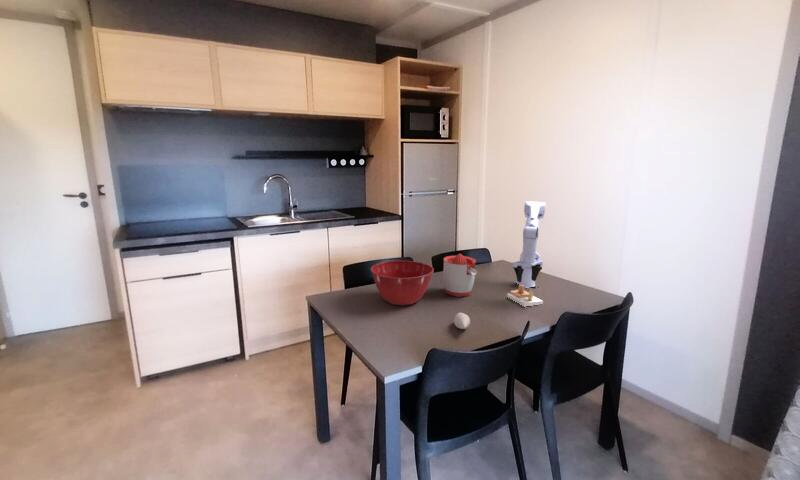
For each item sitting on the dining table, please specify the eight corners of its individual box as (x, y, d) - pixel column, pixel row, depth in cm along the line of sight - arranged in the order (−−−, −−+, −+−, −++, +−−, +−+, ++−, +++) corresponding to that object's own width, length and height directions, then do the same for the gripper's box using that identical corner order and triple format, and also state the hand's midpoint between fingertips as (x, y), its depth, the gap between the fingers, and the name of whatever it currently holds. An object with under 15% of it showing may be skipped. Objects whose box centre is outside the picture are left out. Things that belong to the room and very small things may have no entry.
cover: (510, 293, 184) (510, 283, 183) (522, 291, 187) (523, 282, 186) (519, 298, 178) (520, 288, 177) (531, 296, 180) (532, 287, 179)
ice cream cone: (463, 338, 141) (458, 327, 156) (476, 329, 141) (470, 318, 156) (453, 325, 141) (449, 315, 156) (466, 315, 141) (461, 306, 156)
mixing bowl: (357, 299, 177) (357, 267, 174) (400, 285, 198) (400, 256, 195) (403, 318, 159) (404, 282, 155) (444, 300, 179) (446, 268, 176)
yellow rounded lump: (519, 301, 174) (520, 291, 173) (519, 296, 180) (520, 287, 179) (532, 302, 173) (533, 292, 172) (532, 298, 178) (533, 288, 177)
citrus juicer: (462, 302, 177) (465, 260, 173) (435, 292, 190) (436, 252, 185) (483, 294, 187) (486, 255, 183) (456, 285, 200) (458, 248, 195)
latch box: (507, 297, 184) (507, 293, 184) (524, 295, 188) (524, 291, 187) (524, 307, 172) (524, 303, 172) (542, 305, 176) (543, 300, 175)
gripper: (520, 255, 169) (517, 285, 172) (548, 253, 173) (545, 282, 176) (511, 251, 176) (508, 280, 179) (538, 250, 180) (535, 277, 183)
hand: (526, 281), depth 178 cm, fingers open, 7 cm apart
